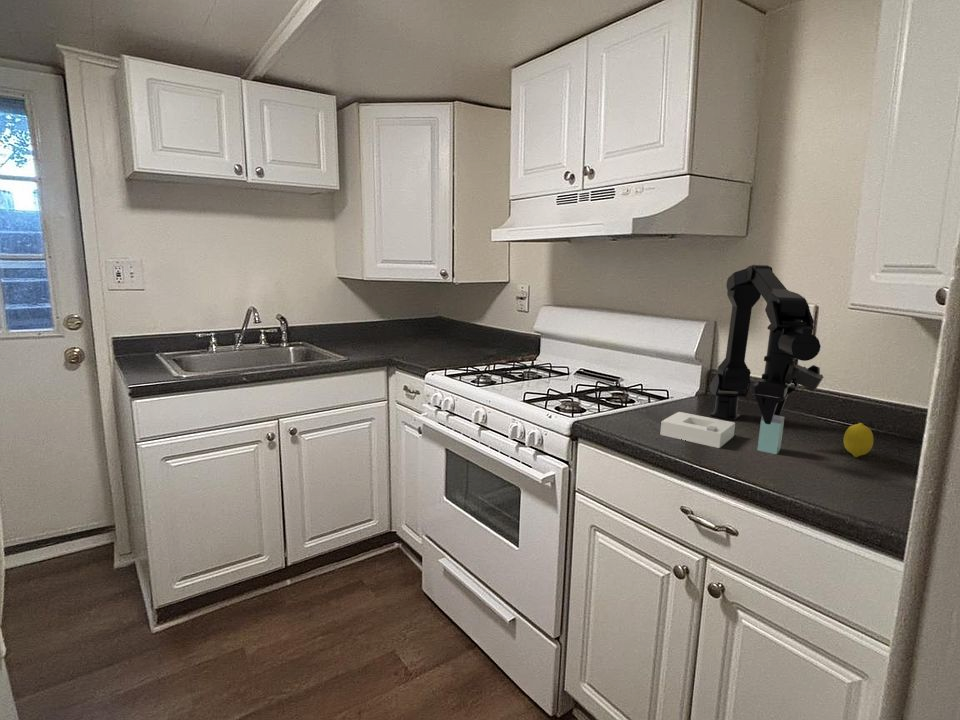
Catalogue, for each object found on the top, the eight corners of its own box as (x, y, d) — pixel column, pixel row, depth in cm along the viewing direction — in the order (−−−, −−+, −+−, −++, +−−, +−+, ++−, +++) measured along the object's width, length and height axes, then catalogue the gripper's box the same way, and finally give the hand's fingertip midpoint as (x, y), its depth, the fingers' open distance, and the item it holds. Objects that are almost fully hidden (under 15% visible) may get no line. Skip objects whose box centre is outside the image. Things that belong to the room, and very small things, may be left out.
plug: (761, 446, 131) (765, 413, 130) (780, 450, 129) (784, 416, 127) (757, 450, 128) (761, 416, 126) (776, 454, 125) (780, 420, 124)
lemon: (865, 454, 127) (871, 421, 126) (873, 463, 122) (879, 428, 120) (838, 451, 129) (843, 418, 127) (844, 459, 124) (850, 424, 122)
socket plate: (677, 424, 146) (678, 409, 145) (733, 436, 138) (735, 420, 137) (660, 434, 137) (661, 418, 136) (719, 448, 128) (721, 431, 128)
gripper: (815, 363, 112) (804, 437, 115) (829, 352, 126) (819, 418, 129) (756, 355, 119) (747, 425, 122) (775, 346, 133) (767, 409, 136)
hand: (772, 419), depth 127 cm, fingers open, 9 cm apart
